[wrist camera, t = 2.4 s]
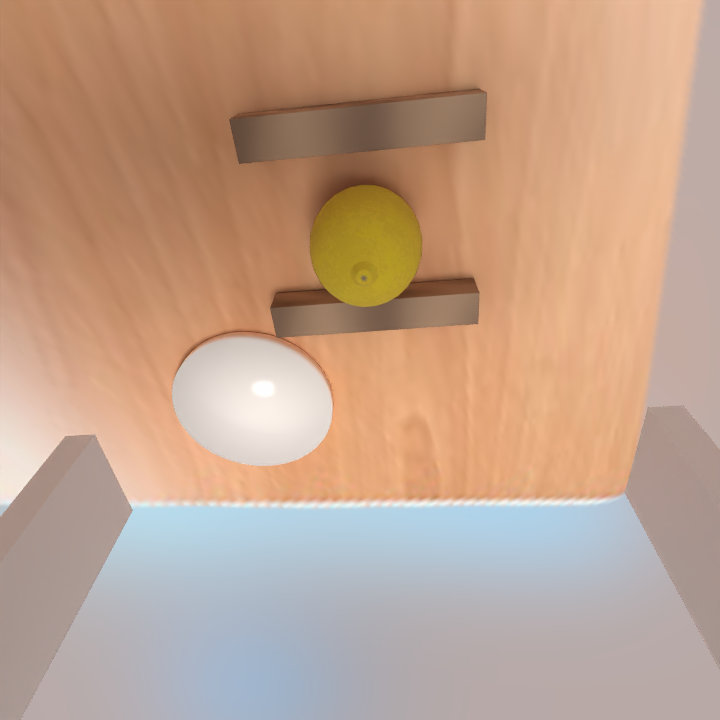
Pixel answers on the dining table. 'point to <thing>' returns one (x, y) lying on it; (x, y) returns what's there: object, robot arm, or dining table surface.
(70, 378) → the dining table surface
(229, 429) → the saucer
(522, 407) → the dining table surface
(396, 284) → the lemon
